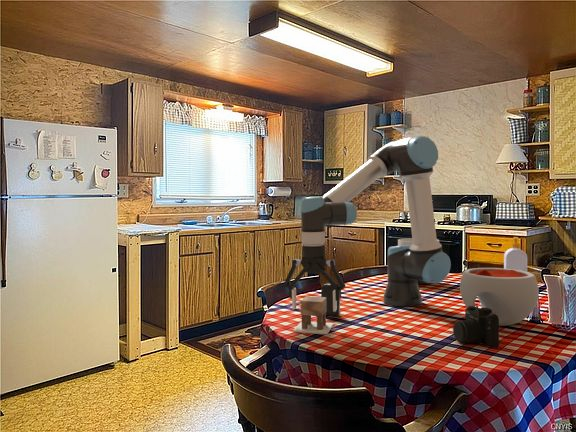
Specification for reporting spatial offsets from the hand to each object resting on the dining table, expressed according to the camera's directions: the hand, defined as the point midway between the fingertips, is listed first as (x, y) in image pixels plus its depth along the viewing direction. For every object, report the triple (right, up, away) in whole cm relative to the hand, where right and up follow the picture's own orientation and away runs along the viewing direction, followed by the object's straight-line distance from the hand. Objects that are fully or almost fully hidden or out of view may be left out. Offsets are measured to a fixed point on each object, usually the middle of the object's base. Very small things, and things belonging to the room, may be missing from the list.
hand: (314, 309), depth 149 cm
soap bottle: (+99, -3, +67) cm, 120 cm away
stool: (0, -6, 0) cm, 6 cm away
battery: (+7, -6, +17) cm, 19 cm away
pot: (+62, -6, +5) cm, 63 cm away
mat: (0, -6, 0) cm, 6 cm away
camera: (+46, -7, -15) cm, 48 cm away
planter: (+55, -3, +76) cm, 94 cm away
